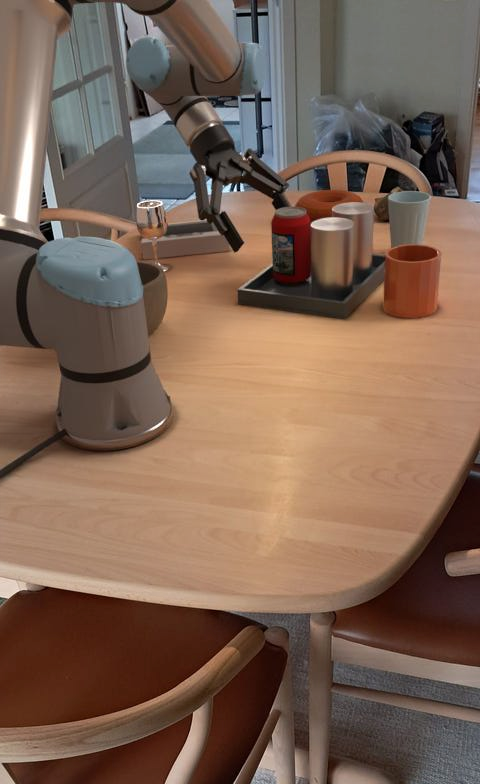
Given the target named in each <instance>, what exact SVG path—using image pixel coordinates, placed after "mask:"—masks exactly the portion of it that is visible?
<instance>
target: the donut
mask: <svg viewBox="0 0 480 784" xmlns="http://www.w3.org/2000/svg"><path fill="white" fill-rule="evenodd" d="M349 202H362V203H365V202H364V200H363V199H362V197H361V195H358V194H356V193H355V192H353V191H349V190H342V189H322V190H316V191H312V192H309V193H306V194H305V195H303V196H301V197H300V198H299V199H298V200H297V202H296V203H295V205H294V207H302V208H304V209H306V213H307V214H308V216H309V218H310V226H311V223H312V222H314V221H316V220H319V219H323V218H331V217H332V208H333V207H334V206H336V205H338V204H342V203H349Z"/></svg>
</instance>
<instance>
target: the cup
mask: <svg viewBox="0 0 480 784" xmlns="http://www.w3.org/2000/svg"><path fill="white" fill-rule="evenodd" d="M403 191H404V192H397V193H393V194H391V195H389V196H388V207H389V219H388V221H389V235H390V236H389V237H390V248H393V247H395V246H401V245H410V244H418V245H424V239H425V234H426V228H427V221H428V216H429V210H430V205H431V199H432V195H431V194H429V193H427V192H423V191H417V190H403Z"/></svg>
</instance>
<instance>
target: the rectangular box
mask: <svg viewBox="0 0 480 784" xmlns="http://www.w3.org/2000/svg"><path fill="white" fill-rule="evenodd" d="M140 241H141V242H140V243H141V250H142V257H143V261H145V260H153V259H154V260H155V253H154V249H153V247H152V242H153V240H150V239H146V238H144V237H142V236H141V240H140ZM156 242H157V258H158V259H164V258H173V257H182V256H183V257H184V256H192V255H193V256H194V255H201V254H202V255H203V254H213V253H220V252H221V253H222V252H230V250H231V246H230V244H229V243H228V241H227V240H226V238H225V236H224V235H221V234H220V233H219V232H218V230H217V228H216V227H215V225H214V223H212V224H209V223H208V222H207V219H205V220H203V221H202V220H192V221H182V222H181V221H180V222H172V223H171V222H170V223H168V226H167V231H166V233H165V234H164V235H163V236H162V237H161V238H159V239H156Z"/></svg>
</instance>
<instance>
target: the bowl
mask: <svg viewBox="0 0 480 784" xmlns="http://www.w3.org/2000/svg"><path fill="white" fill-rule="evenodd" d="M136 262H137V266H138V270H139V275H140V279H141V282H142V285H143V300H144V307H145V315H146V323H147V331H148V338H150V337H151V336H152V335H153V334H154V333H155V332H156V331H157V330H158V328H159V327H160V325H161V323H162V322H163V320H164V317H165V315H166V311H167V308H168V299H169V298H168V297H169V294H168V293H169V292H168V291H169V290H168V282H167V277H166V274H165V271H164V270H163V269H162V267H161V266H159V265H157V264H155V262H149V261H145V260H136Z"/></svg>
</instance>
